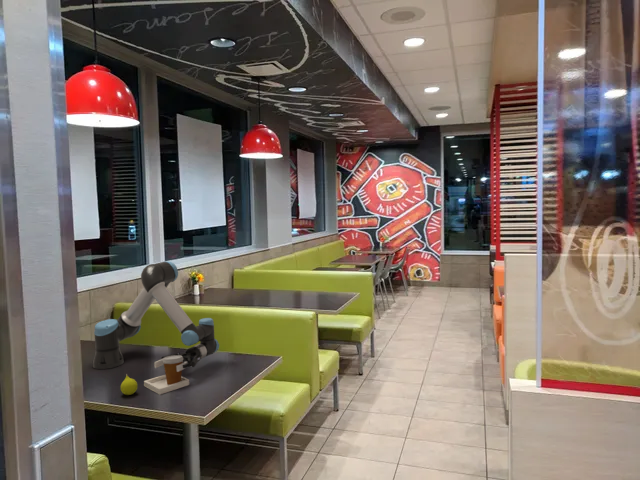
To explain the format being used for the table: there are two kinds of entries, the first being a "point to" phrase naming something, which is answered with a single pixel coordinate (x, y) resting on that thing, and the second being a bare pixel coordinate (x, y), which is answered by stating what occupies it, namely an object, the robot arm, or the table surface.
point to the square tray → (164, 384)
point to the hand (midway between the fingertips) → (165, 367)
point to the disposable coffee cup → (172, 368)
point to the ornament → (128, 386)
